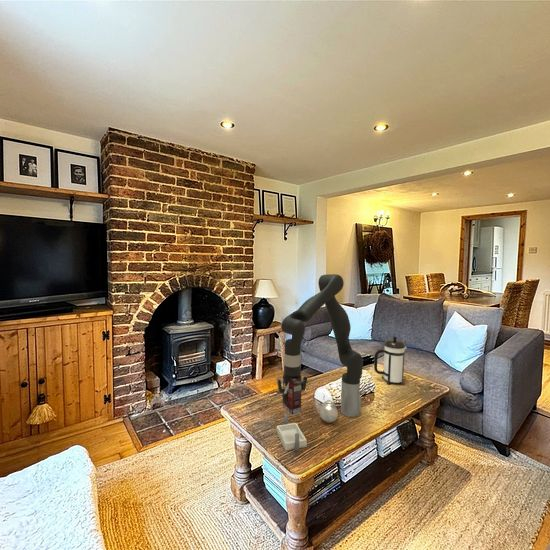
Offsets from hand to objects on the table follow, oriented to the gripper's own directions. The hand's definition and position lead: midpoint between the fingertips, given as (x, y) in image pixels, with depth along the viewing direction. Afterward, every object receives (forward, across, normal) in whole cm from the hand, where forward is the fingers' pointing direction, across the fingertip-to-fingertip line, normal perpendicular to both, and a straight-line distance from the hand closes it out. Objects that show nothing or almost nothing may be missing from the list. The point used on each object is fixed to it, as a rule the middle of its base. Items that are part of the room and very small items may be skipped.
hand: (291, 399), depth 134 cm
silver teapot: (+19, -23, -9) cm, 31 cm away
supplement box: (+5, 0, 0) cm, 5 cm away
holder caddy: (+18, 0, 0) cm, 18 cm away
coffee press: (+19, -82, -40) cm, 93 cm away
